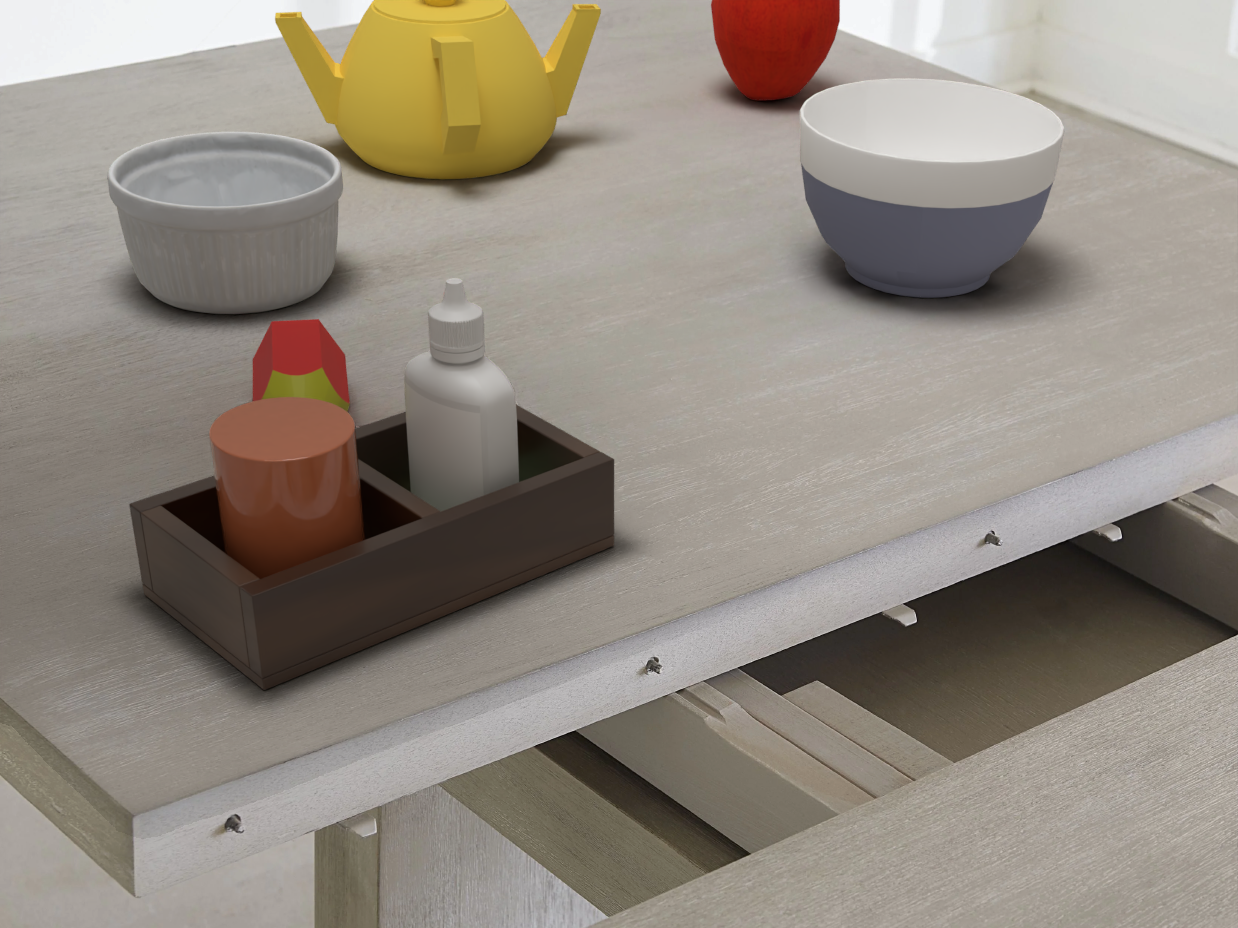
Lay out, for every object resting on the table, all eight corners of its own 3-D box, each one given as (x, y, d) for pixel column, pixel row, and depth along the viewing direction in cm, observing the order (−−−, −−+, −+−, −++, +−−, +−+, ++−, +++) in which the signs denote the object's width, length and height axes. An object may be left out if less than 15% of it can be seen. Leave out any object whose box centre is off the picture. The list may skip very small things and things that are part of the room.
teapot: (432, 96, 145) (422, -71, 138) (613, 141, 138) (613, -32, 131) (278, 155, 133) (260, -25, 126) (469, 207, 126) (460, 21, 119)
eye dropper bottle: (434, 558, 87) (419, 311, 80) (406, 502, 91) (390, 262, 84) (527, 544, 88) (520, 300, 82) (495, 489, 93) (486, 252, 86)
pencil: (257, 502, 92) (247, 424, 90) (256, 395, 102) (248, 322, 99) (358, 496, 93) (351, 419, 91) (348, 390, 103) (341, 317, 100)
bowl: (872, 337, 111) (885, 176, 106) (746, 243, 123) (752, 93, 117) (1095, 297, 118) (1118, 142, 112) (955, 210, 129) (971, 67, 123)
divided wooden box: (143, 594, 85) (128, 503, 82) (486, 468, 96) (483, 384, 93) (264, 690, 79) (252, 596, 77) (614, 545, 90) (614, 458, 88)
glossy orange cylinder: (204, 585, 85) (181, 422, 80) (320, 543, 88) (304, 383, 84) (278, 642, 81) (258, 474, 77) (395, 595, 85) (383, 432, 80)
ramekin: (388, 259, 118) (381, 147, 114) (283, 340, 108) (270, 221, 104) (198, 227, 121) (184, 118, 117) (78, 303, 111) (58, 186, 107)
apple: (802, 125, 143) (812, -46, 136) (684, 103, 146) (688, -66, 139) (854, 91, 150) (866, -73, 143) (741, 70, 153) (747, -91, 146)
